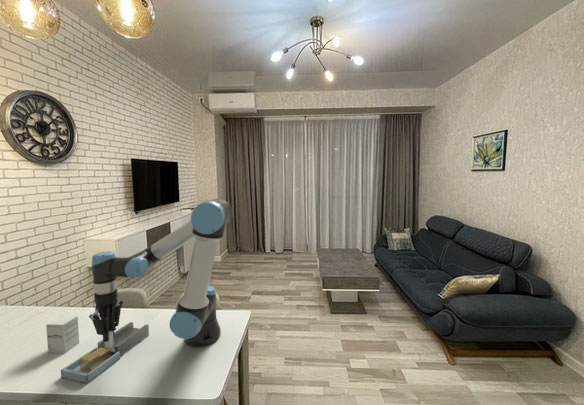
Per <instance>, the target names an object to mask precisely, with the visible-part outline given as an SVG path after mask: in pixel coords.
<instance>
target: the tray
mask: <svg viewBox="0 0 584 405" xmlns="http://www.w3.org/2000/svg"><path fill="white" fill-rule="evenodd" d="M97 349H98V346H97V347H94V348H92V349H91V350H89V351H88V352H87V353H89V352H90V353H93V352H94V351H96V350H97ZM87 353H85V354H83V355H82V356H80V357H78V358H77V359H76V360H74V361H73V362H71V363H69V364H68V365H66V366H65V367H63V368H62V369H60V377H61V379H64V378H65V380H68V379H70V380H69V381H72V380H74V381H73V382H77V381H78V383H82V384H86V385H88V384H90V383H91V382H93V380H95V379H96V378H98V377H99V376H100V375H102V373H104V372H105V371H107V370H108V369H109V368H111V367H112V366H113V365H114V364H116V363H117V362H118V361H119V360H121V357H120V352H117V353H116V354H114V355H113V356H111V357H110V358H109V359H107V360H106V361H105V362H103V363H102V364H100V365H99V366H98V367H96V368H95V369H94V370H92V371H91V372H88V371H83V370H80V358H81V357H83V356H84V355H86V354H87ZM98 375H99V376H98Z"/></svg>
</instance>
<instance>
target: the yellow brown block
mask: <svg viewBox="0 0 584 405" xmlns="http://www.w3.org/2000/svg"><path fill="white" fill-rule="evenodd" d="M88 352H89V351H88ZM88 352H87V354H86V353H85V354H86V355H85V354H83V355H84V356H83V355H82V356H83V357H82V356H80V357H81V358H80V357H79V358H80V370H83V371H88V372H91V371H92V370H94V369H95V368H96V367H98V366H99V365H100V355H99V354H94V353H90V352H89V353H88Z"/></svg>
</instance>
